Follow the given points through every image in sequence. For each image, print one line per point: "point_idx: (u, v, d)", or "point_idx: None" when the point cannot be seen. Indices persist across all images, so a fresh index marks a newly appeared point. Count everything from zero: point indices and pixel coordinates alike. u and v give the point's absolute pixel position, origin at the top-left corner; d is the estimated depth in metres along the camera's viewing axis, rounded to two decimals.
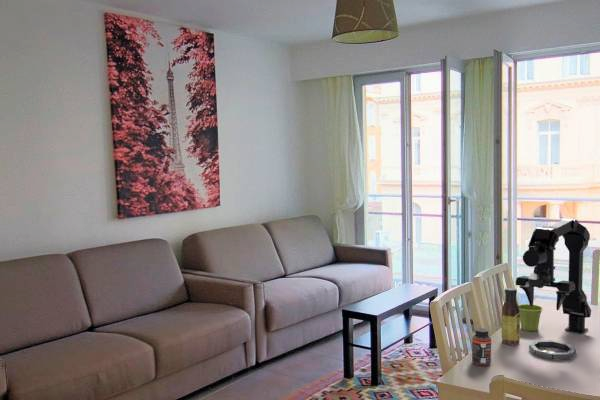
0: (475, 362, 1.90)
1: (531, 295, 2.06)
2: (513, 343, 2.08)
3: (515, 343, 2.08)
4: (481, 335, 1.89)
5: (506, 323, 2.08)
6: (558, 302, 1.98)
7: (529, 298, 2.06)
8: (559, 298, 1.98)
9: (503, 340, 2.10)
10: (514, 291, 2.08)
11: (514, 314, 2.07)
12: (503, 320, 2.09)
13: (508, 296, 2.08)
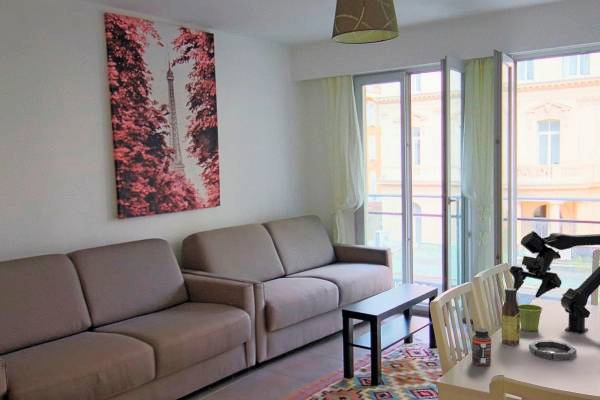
0: (475, 362, 1.90)
1: (518, 284, 2.19)
2: (513, 343, 2.08)
3: (515, 343, 2.08)
4: (481, 335, 1.89)
5: (506, 323, 2.08)
6: (540, 289, 2.10)
7: (515, 284, 2.19)
8: (542, 285, 2.10)
9: (503, 340, 2.10)
10: (514, 291, 2.08)
11: (514, 314, 2.07)
12: (503, 320, 2.09)
13: (508, 296, 2.08)
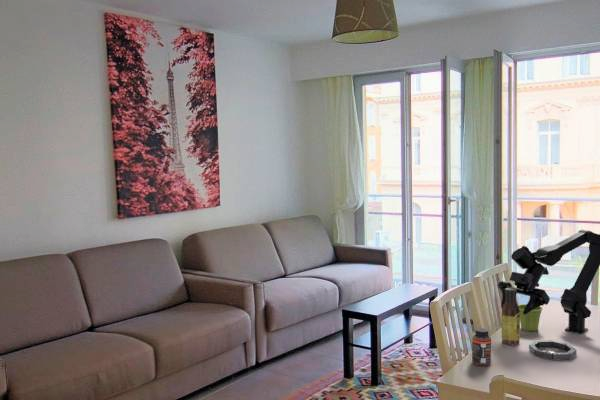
0: (475, 362, 1.90)
1: None
2: (513, 343, 2.08)
3: (515, 343, 2.08)
4: (482, 335, 1.89)
5: (506, 323, 2.08)
6: (527, 305, 2.07)
7: (503, 300, 2.15)
8: (530, 302, 2.07)
9: (503, 340, 2.10)
10: (514, 291, 2.08)
11: (514, 314, 2.07)
12: (503, 320, 2.09)
13: (508, 296, 2.08)
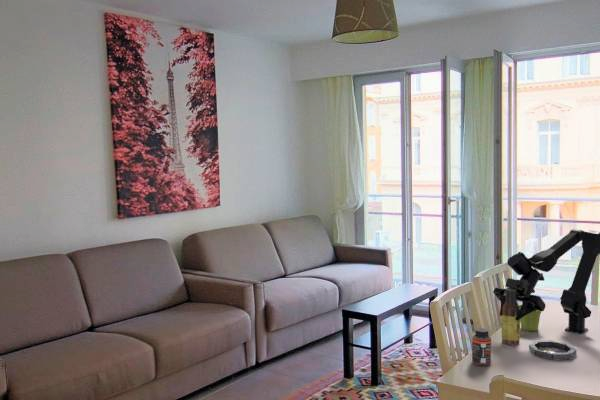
0: (475, 362, 1.90)
1: None
2: (513, 343, 2.08)
3: (515, 343, 2.08)
4: (482, 335, 1.89)
5: (506, 323, 2.08)
6: (520, 311, 2.07)
7: None
8: (522, 308, 2.07)
9: (503, 340, 2.10)
10: (514, 291, 2.08)
11: (514, 314, 2.07)
12: (503, 320, 2.09)
13: (509, 296, 2.08)
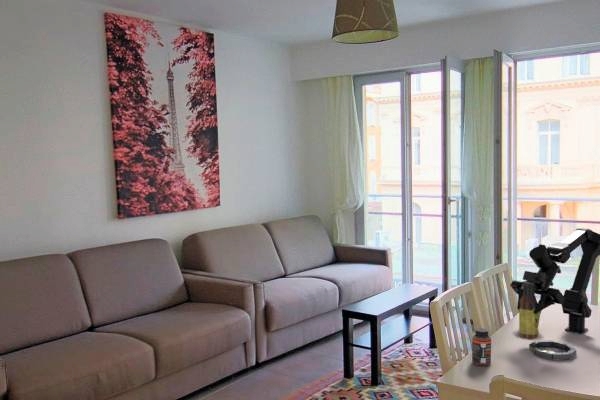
0: (475, 362, 1.90)
1: None
2: (531, 337, 2.03)
3: (533, 337, 2.03)
4: (481, 335, 1.89)
5: (524, 317, 2.04)
6: (538, 305, 2.02)
7: (519, 301, 2.08)
8: (541, 301, 2.02)
9: (521, 334, 2.05)
10: (532, 284, 2.03)
11: (532, 308, 2.02)
12: (521, 314, 2.05)
13: (526, 289, 2.04)
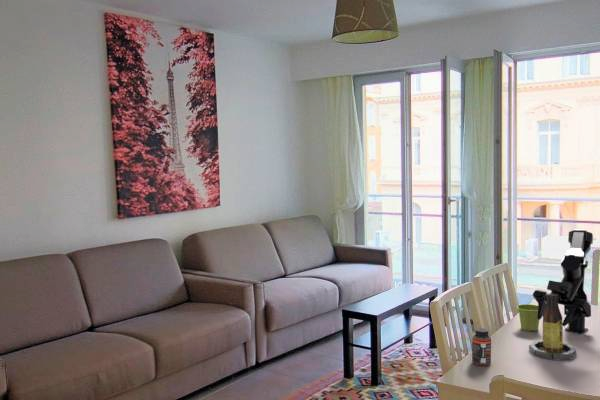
0: (475, 362, 1.90)
1: (542, 310, 2.04)
2: (556, 351, 1.97)
3: (558, 351, 1.97)
4: (482, 335, 1.89)
5: (548, 331, 1.98)
6: (567, 316, 1.95)
7: (539, 310, 2.03)
8: (570, 313, 1.95)
9: (545, 348, 2.00)
10: (556, 296, 1.98)
11: (556, 320, 1.97)
12: (545, 327, 1.99)
13: (550, 302, 1.98)
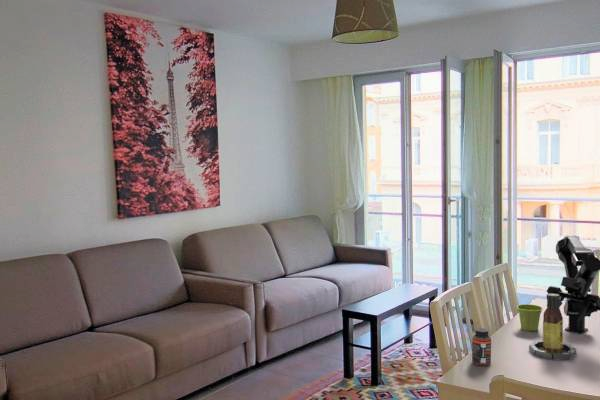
0: (475, 362, 1.90)
1: None
2: (556, 352, 1.97)
3: (558, 352, 1.97)
4: (482, 335, 1.89)
5: (548, 331, 1.98)
6: (581, 312, 2.00)
7: None
8: (583, 308, 2.00)
9: (545, 348, 1.99)
10: (557, 297, 1.97)
11: (557, 321, 1.97)
12: (545, 327, 1.99)
13: (551, 302, 1.98)
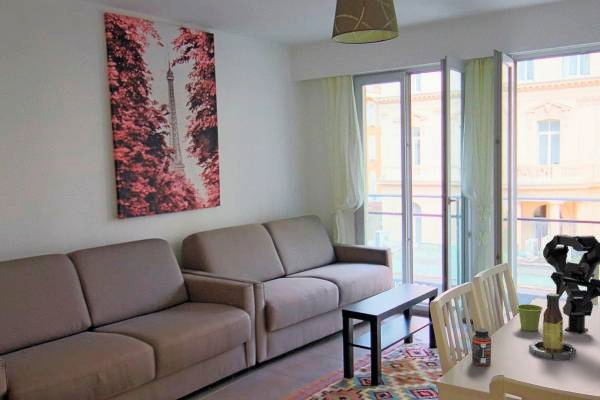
0: (475, 362, 1.90)
1: (560, 291, 2.12)
2: (556, 352, 1.97)
3: (558, 352, 1.97)
4: (482, 335, 1.89)
5: (548, 331, 1.98)
6: (585, 296, 2.03)
7: (557, 291, 2.11)
8: (587, 293, 2.03)
9: (545, 348, 1.99)
10: (557, 297, 1.97)
11: (557, 321, 1.97)
12: (545, 327, 1.99)
13: (551, 302, 1.98)
